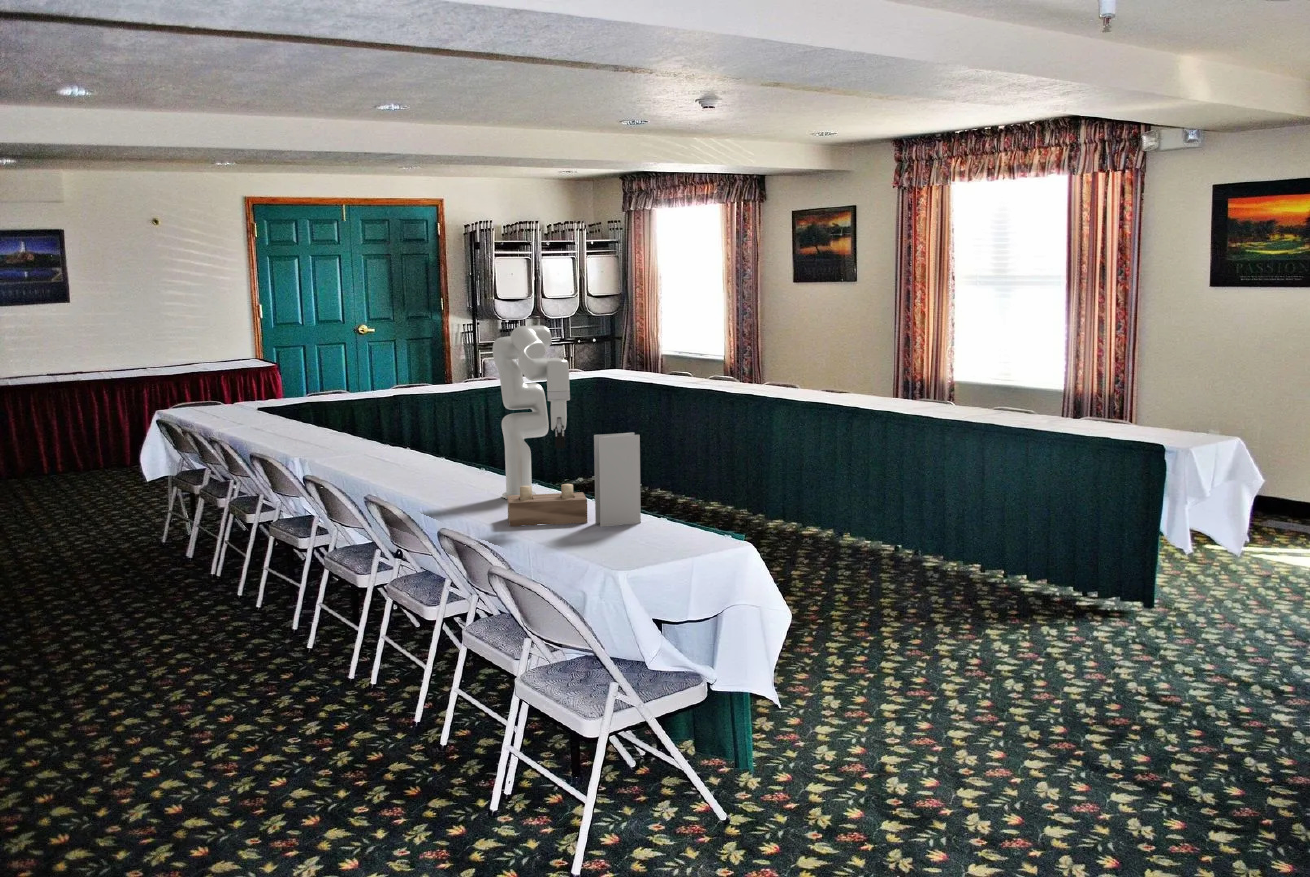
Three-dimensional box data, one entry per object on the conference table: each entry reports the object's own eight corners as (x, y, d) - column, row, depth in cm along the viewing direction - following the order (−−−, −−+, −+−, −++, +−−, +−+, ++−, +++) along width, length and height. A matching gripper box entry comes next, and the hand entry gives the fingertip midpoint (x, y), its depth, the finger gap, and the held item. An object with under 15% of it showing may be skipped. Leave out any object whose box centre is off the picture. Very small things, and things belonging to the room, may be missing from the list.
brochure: (635, 519, 374) (634, 432, 369) (640, 523, 369) (639, 434, 364) (595, 523, 369) (593, 435, 364) (600, 526, 364) (599, 437, 359)
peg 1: (520, 507, 373) (519, 485, 372) (531, 507, 374) (531, 485, 373) (520, 510, 369) (520, 488, 368) (532, 509, 370) (532, 487, 369)
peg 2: (561, 505, 376) (560, 484, 374) (572, 505, 376) (572, 483, 375) (562, 508, 372) (561, 486, 371) (574, 507, 372) (573, 485, 371)
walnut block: (508, 518, 377) (507, 495, 376) (583, 514, 382) (582, 492, 380) (509, 526, 365) (509, 503, 364) (587, 522, 370) (587, 499, 369)
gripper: (548, 394, 378) (549, 443, 381) (546, 398, 361) (548, 450, 363) (570, 393, 379) (571, 442, 381) (569, 398, 362) (571, 449, 364)
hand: (560, 446), depth 372 cm, fingers open, 9 cm apart
